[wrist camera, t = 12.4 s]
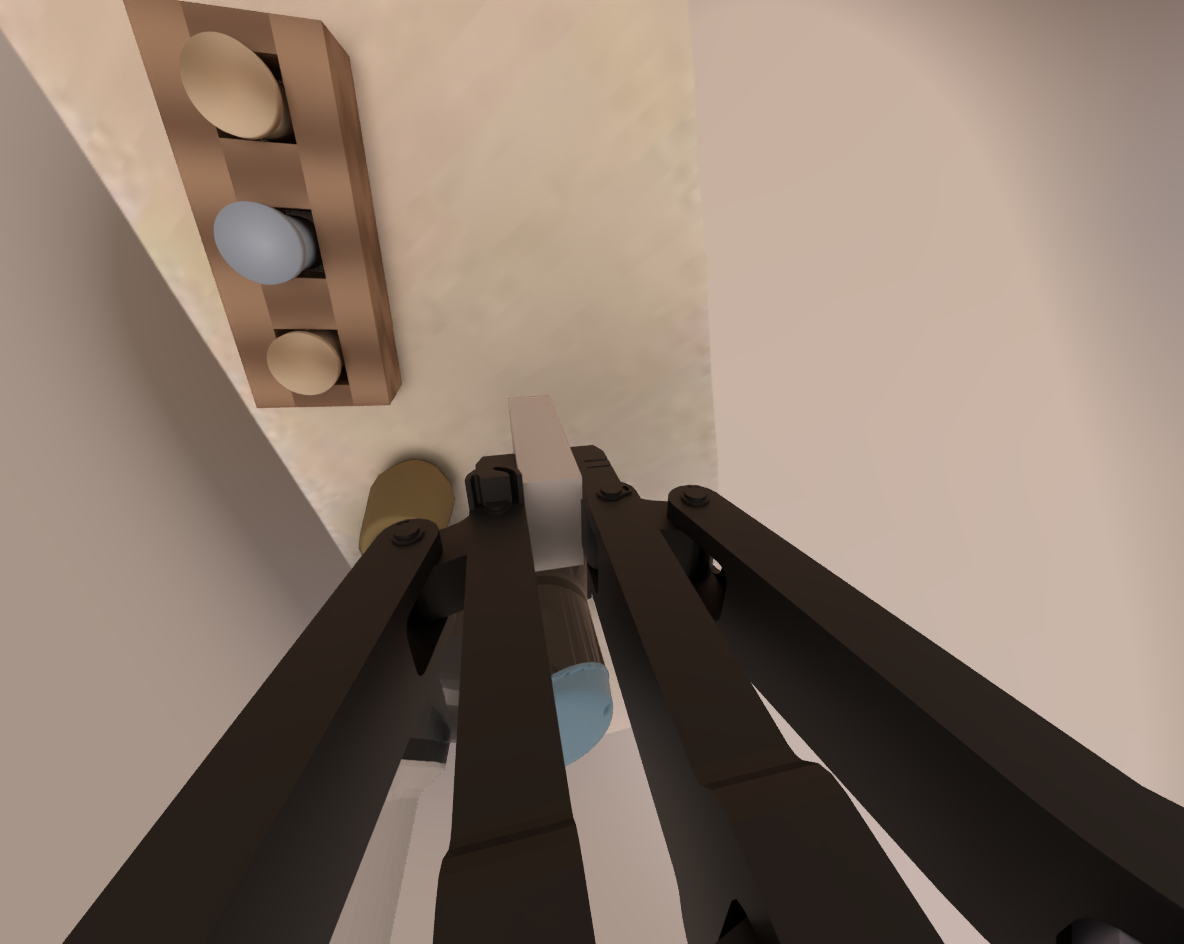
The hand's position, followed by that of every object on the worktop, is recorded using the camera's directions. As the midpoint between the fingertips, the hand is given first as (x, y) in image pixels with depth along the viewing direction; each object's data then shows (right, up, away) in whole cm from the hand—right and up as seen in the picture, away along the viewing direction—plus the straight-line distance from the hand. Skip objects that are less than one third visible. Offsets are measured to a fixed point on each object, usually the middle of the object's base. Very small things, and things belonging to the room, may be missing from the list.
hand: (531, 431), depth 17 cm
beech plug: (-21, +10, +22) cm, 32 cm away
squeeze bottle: (-17, -3, +31) cm, 35 cm away
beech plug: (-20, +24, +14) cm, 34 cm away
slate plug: (-20, +16, +16) cm, 30 cm away
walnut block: (-21, +17, +19) cm, 33 cm away
